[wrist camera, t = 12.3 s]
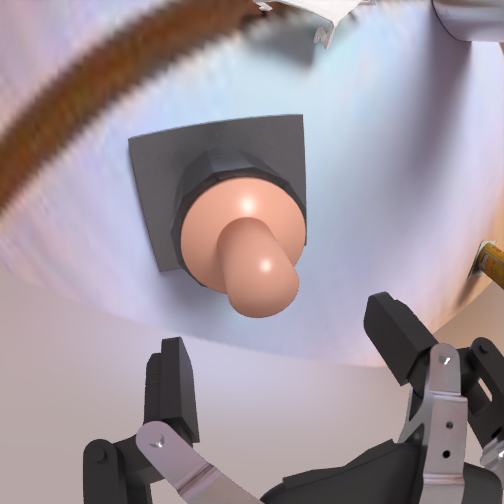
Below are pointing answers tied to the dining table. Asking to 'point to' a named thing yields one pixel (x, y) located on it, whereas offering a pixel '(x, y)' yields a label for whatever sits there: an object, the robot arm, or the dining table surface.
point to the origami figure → (322, 13)
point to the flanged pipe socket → (212, 170)
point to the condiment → (489, 263)
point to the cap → (245, 244)
